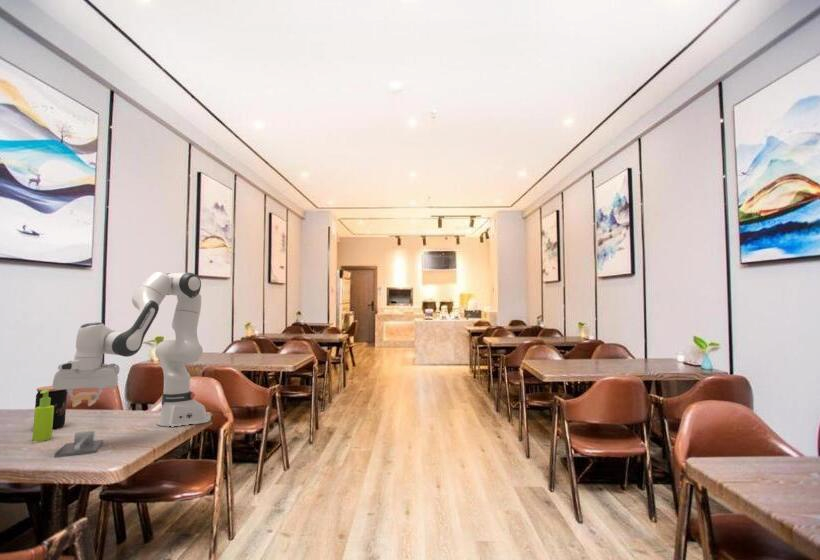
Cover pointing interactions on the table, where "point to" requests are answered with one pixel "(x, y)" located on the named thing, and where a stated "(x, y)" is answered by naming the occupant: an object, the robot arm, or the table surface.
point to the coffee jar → (55, 404)
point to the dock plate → (83, 451)
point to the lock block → (83, 398)
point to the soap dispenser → (43, 418)
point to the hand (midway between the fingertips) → (84, 400)
